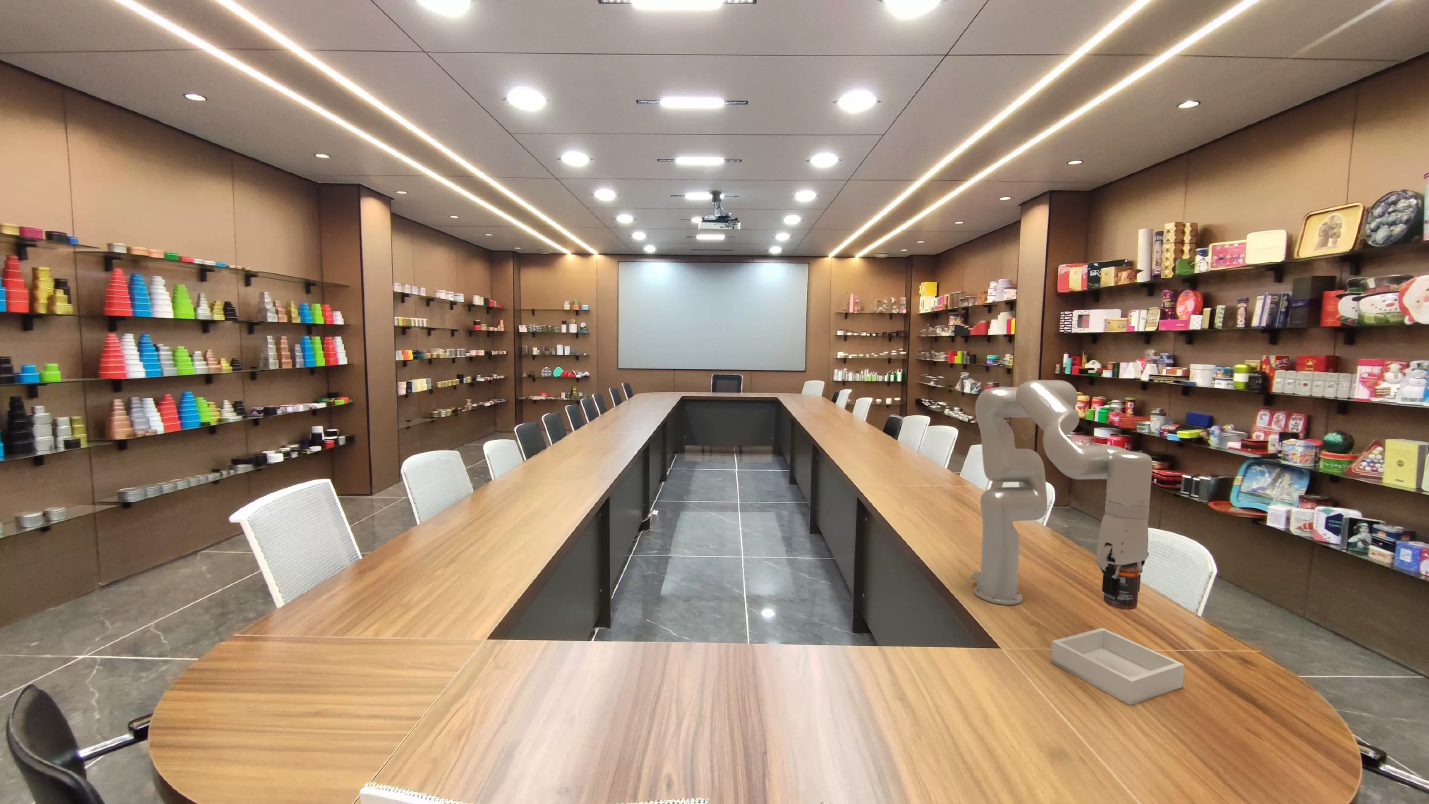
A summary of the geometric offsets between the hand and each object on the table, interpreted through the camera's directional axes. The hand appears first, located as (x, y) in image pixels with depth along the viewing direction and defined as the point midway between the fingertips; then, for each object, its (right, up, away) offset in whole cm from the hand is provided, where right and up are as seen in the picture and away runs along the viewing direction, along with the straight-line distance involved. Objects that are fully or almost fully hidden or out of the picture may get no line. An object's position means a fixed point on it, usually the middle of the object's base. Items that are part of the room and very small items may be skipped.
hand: (1120, 591), depth 123 cm
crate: (0, -19, +2) cm, 19 cm away
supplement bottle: (0, -3, 0) cm, 3 cm away
